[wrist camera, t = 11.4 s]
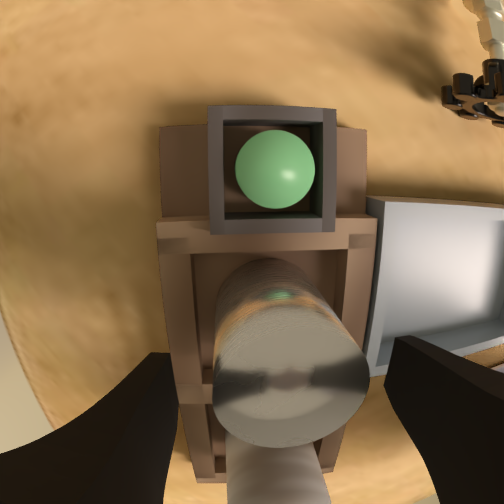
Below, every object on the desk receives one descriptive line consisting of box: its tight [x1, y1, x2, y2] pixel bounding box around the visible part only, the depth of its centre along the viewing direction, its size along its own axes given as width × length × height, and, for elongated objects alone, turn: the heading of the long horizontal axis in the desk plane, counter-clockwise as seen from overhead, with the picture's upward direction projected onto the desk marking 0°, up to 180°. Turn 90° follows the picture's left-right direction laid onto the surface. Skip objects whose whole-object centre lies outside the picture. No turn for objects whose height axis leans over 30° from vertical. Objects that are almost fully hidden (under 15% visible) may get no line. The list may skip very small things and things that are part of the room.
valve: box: [441, 0, 504, 128], centre depth 8 cm, size 7×7×12 cm
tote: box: [362, 195, 504, 377], centre depth 14 cm, size 12×8×2 cm
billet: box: [212, 258, 370, 448], centre depth 11 cm, size 4×4×6 cm
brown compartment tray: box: [156, 105, 377, 504], centre depth 12 cm, size 8×20×7 cm, turn 0°
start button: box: [234, 130, 315, 209], centre depth 11 cm, size 3×3×2 cm
